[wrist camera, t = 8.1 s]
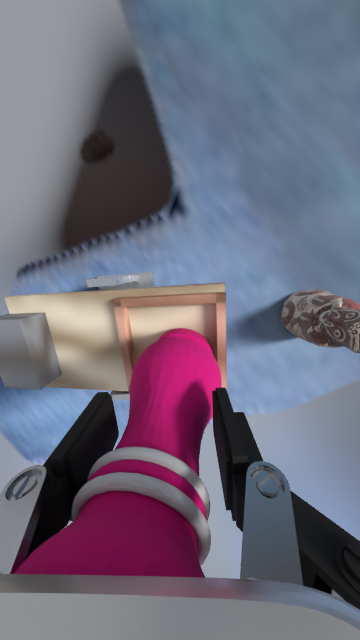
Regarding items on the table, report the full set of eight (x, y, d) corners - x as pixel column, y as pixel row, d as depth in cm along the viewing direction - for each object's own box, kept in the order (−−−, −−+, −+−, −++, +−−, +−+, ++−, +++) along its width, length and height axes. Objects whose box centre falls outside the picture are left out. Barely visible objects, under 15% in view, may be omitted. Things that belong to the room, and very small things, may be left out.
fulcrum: (99, 276, 27) (61, 279, 19) (153, 272, 26) (138, 273, 18) (116, 367, 31) (91, 402, 23) (163, 364, 30) (155, 400, 22)
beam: (17, 295, 23) (-29, 301, 18) (223, 282, 18) (227, 287, 14) (43, 379, 26) (10, 401, 22) (225, 387, 21) (227, 418, 17)
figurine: (306, 278, 26) (402, 285, 14) (340, 307, 27) (457, 336, 15) (270, 317, 28) (330, 351, 16) (304, 343, 29) (384, 394, 17)
